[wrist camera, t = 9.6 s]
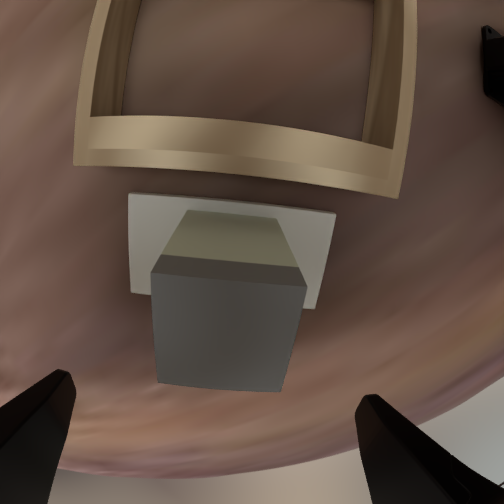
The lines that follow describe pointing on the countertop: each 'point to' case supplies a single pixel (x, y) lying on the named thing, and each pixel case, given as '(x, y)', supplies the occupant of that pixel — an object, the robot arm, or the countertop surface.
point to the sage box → (226, 303)
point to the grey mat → (175, 206)
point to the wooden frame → (247, 133)
